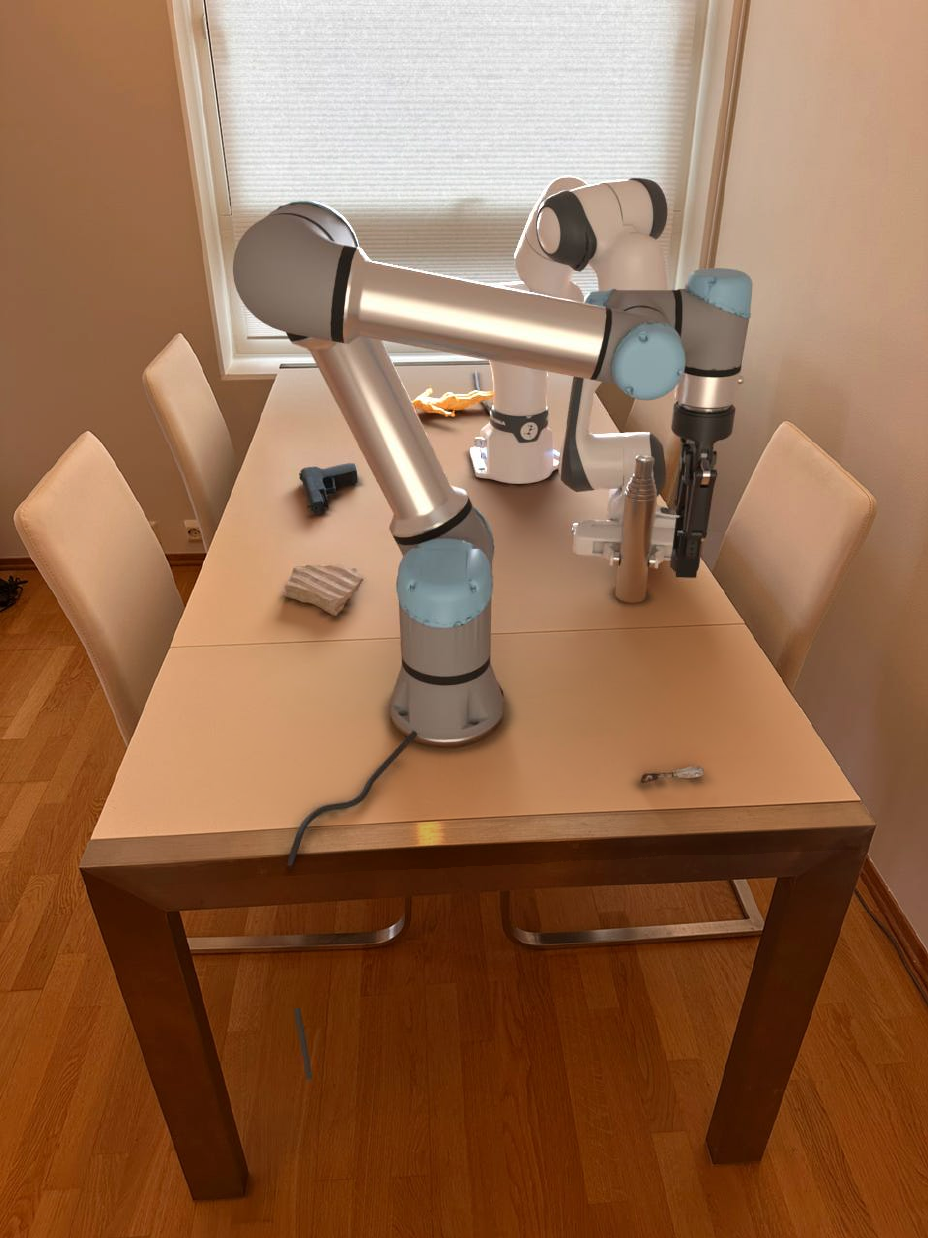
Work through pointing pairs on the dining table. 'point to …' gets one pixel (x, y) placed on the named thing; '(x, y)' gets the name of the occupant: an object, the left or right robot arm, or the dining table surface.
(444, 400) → the human figure
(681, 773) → the putty knife
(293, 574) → the stone
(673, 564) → the cap
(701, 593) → the dining table surface
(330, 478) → the handgun
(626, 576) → the bottle
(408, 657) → the left robot arm
